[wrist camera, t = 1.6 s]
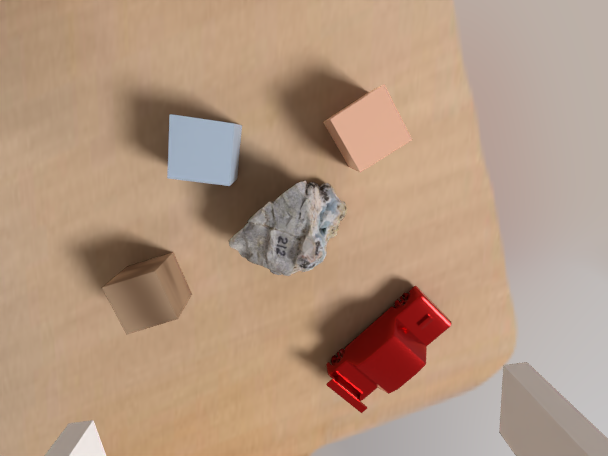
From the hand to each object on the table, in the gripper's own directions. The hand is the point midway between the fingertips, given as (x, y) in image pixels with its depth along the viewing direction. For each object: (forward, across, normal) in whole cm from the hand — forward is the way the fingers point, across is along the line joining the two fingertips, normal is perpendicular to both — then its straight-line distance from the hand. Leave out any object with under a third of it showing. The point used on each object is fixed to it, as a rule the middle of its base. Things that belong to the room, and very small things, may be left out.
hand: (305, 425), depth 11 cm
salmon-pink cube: (+24, +7, +9) cm, 27 cm away
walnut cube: (+24, -14, -4) cm, 28 cm away
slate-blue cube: (+24, -7, +9) cm, 26 cm away
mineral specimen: (+24, 0, 0) cm, 24 cm away
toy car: (+25, +8, -14) cm, 30 cm away
